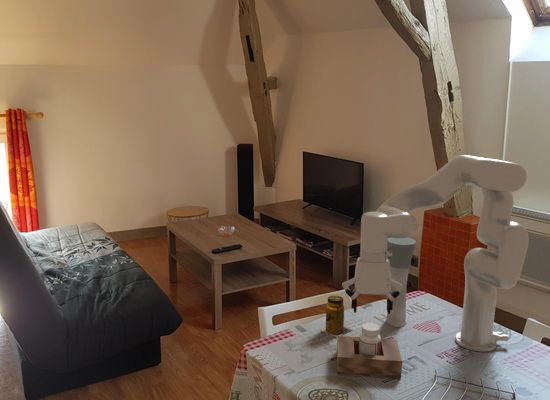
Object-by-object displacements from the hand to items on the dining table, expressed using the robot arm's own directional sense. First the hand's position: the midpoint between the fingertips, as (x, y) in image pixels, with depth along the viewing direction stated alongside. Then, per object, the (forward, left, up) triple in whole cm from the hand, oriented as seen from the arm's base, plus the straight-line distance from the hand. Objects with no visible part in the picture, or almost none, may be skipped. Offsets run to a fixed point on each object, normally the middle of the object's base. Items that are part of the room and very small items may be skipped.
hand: (371, 311), depth 150 cm
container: (-12, -30, -17) cm, 37 cm away
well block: (0, 0, -17) cm, 17 cm away
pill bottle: (0, 0, -16) cm, 16 cm away
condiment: (+9, -21, -17) cm, 29 cm away
